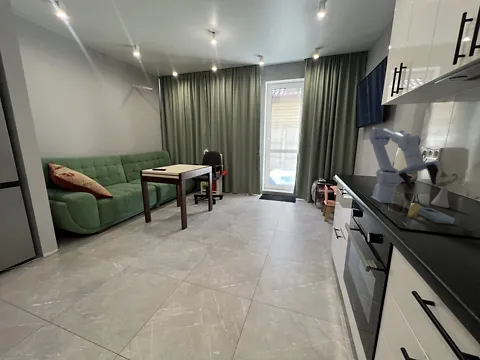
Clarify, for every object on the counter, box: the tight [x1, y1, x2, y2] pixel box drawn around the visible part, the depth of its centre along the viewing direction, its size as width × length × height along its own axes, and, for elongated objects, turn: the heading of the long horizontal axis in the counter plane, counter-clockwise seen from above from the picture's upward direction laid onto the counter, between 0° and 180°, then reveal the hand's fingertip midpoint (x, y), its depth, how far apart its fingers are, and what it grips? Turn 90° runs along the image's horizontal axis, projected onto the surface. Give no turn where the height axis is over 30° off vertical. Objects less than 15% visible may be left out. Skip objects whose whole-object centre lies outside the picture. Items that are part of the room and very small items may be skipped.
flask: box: [430, 186, 450, 209], centre depth 104 cm, size 7×7×10 cm
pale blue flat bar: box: [406, 205, 456, 225], centre depth 89 cm, size 16×7×2 cm, turn 174°
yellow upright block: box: [407, 202, 421, 220], centre depth 85 cm, size 3×3×6 cm
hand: (421, 186), depth 83 cm, fingers open, 7 cm apart
